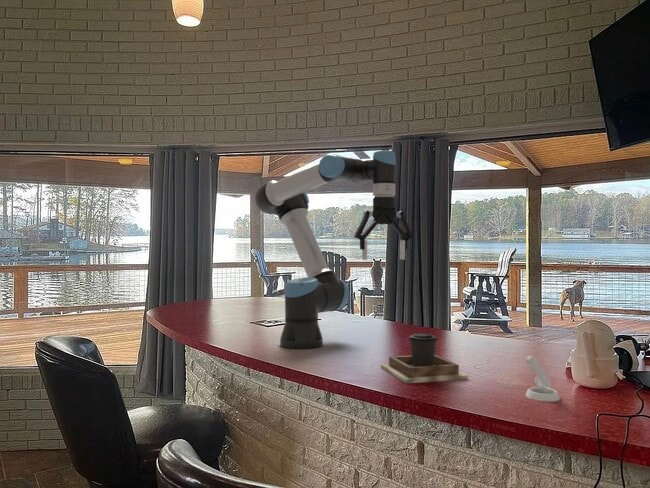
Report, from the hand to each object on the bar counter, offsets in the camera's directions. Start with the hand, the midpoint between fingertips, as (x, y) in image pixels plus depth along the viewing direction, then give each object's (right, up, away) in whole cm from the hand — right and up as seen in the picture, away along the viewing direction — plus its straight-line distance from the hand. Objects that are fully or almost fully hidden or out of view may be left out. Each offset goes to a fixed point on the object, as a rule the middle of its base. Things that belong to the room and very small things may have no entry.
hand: (383, 259), depth 185 cm
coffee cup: (+8, -30, -32) cm, 44 cm away
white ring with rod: (+32, -32, -54) cm, 70 cm away
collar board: (+8, -31, -32) cm, 45 cm away
